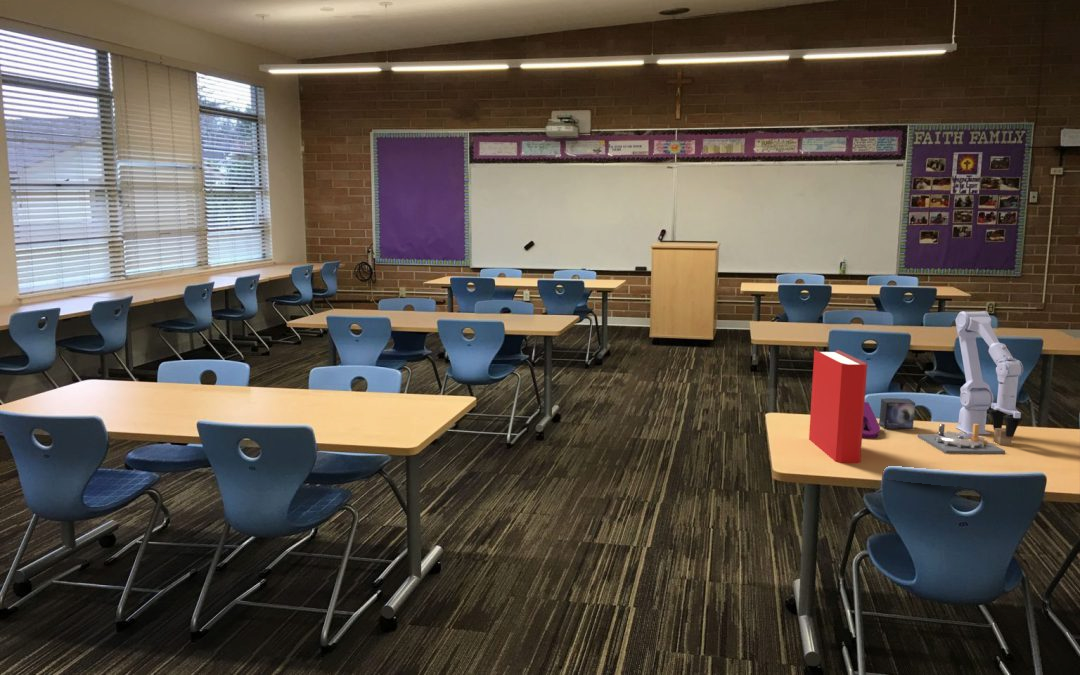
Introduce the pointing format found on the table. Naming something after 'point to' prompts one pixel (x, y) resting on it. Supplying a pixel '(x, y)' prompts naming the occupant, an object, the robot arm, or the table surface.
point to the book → (838, 405)
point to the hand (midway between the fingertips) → (1003, 433)
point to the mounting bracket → (869, 423)
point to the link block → (1001, 437)
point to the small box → (897, 413)
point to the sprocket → (959, 439)
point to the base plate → (963, 450)
